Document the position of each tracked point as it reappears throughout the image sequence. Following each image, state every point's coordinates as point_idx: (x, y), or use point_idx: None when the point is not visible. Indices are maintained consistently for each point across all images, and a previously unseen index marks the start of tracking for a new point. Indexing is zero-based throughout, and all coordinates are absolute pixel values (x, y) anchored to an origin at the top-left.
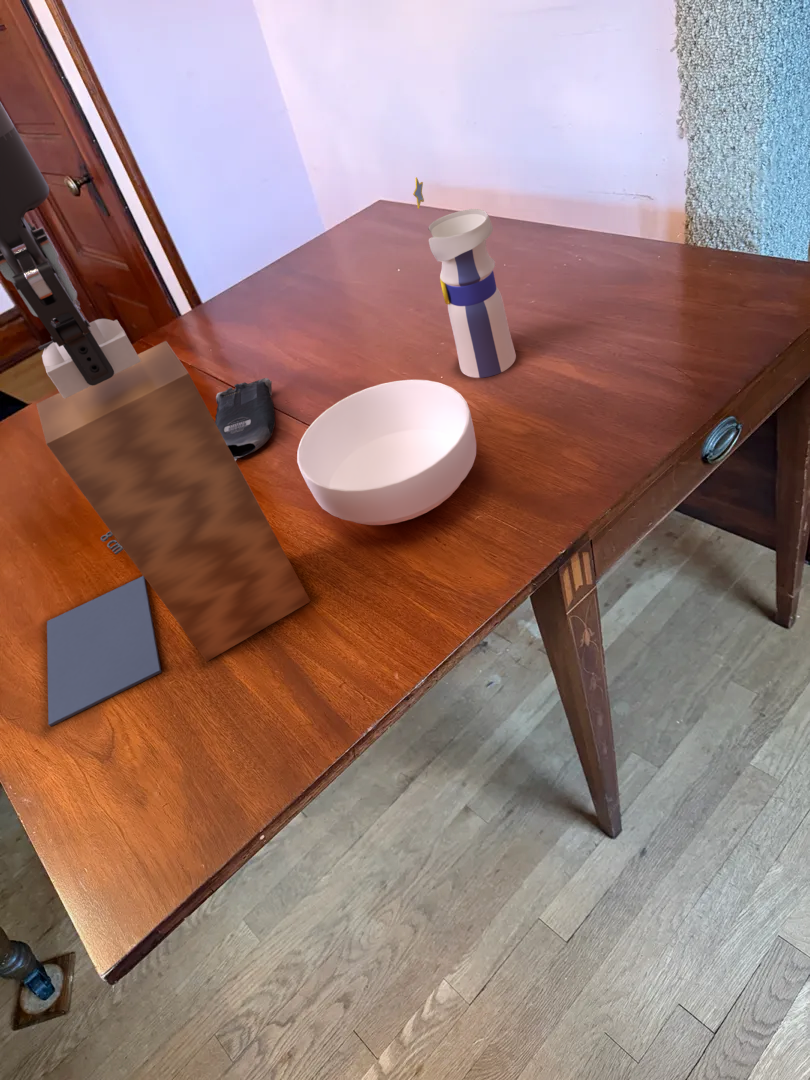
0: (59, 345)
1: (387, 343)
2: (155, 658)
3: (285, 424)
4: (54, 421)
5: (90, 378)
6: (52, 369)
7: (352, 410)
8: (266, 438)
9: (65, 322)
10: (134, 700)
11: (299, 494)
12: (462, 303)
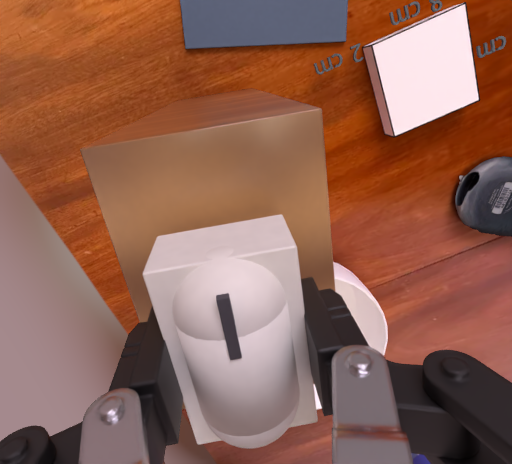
0: (8, 439)
1: (508, 347)
2: (205, 44)
3: (476, 235)
4: (179, 165)
5: (132, 330)
6: (150, 289)
7: (378, 326)
8: (460, 218)
9: (319, 375)
10: (161, 12)
11: (352, 227)
12: (420, 456)
